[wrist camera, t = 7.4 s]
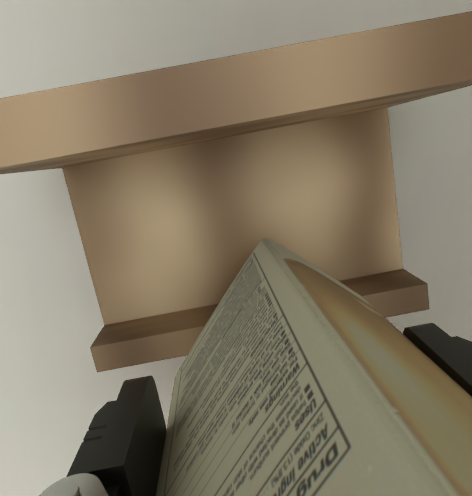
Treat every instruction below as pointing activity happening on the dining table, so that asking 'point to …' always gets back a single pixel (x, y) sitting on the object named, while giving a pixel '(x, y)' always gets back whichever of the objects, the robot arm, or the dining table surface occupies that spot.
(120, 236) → the wooden holder
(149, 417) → the robot arm
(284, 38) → the dining table surface
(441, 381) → the skincare box
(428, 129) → the dining table surface
